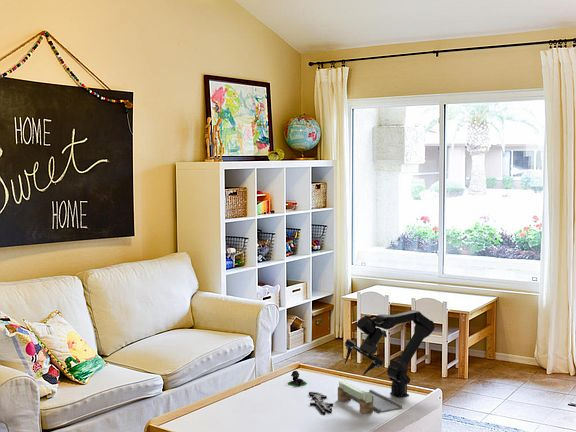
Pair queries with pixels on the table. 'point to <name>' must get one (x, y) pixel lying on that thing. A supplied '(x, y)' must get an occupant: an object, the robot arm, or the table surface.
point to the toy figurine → (296, 380)
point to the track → (381, 402)
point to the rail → (355, 391)
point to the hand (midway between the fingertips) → (353, 369)
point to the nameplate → (320, 402)
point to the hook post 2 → (366, 407)
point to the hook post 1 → (343, 395)
